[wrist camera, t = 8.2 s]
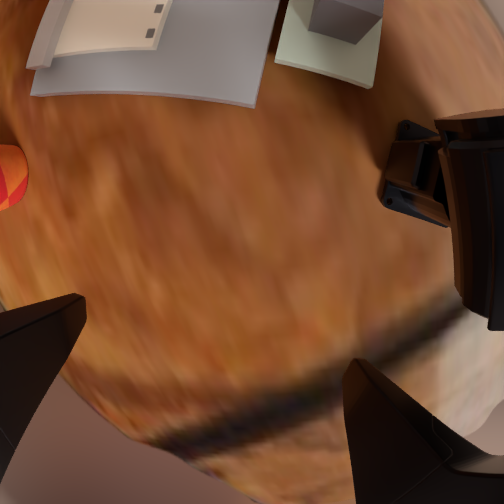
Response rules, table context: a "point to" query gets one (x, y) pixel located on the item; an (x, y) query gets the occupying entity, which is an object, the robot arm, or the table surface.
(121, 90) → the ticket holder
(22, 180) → the paper cup
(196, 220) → the table surface
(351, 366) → the robot arm
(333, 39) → the gray block on plate
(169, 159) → the table surface
